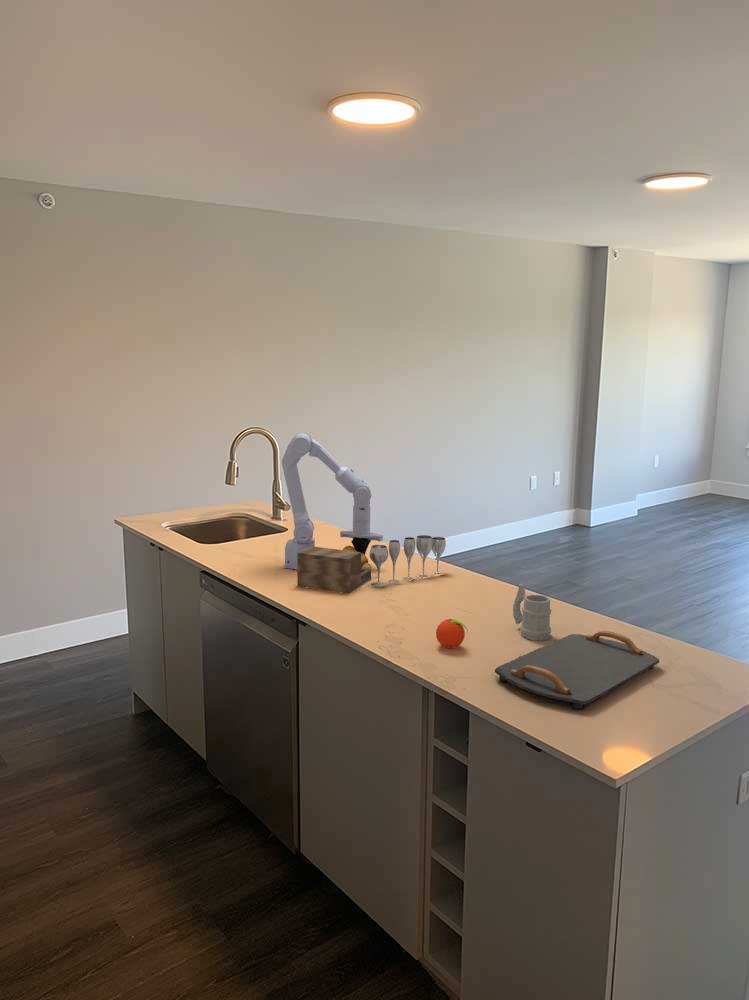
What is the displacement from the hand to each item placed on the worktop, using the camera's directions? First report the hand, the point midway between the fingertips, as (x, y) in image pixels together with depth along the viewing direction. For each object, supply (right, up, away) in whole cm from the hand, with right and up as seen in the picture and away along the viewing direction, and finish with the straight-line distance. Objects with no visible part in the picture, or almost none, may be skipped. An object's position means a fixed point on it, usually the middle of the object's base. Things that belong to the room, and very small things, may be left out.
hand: (361, 560), depth 254 cm
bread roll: (-2, -4, -7) cm, 8 cm away
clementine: (+23, -16, -69) cm, 75 cm away
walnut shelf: (-8, -6, -17) cm, 19 cm away
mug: (+44, -14, -59) cm, 75 cm away
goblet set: (+15, -5, -12) cm, 20 cm away
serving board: (+50, -19, -83) cm, 99 cm away
